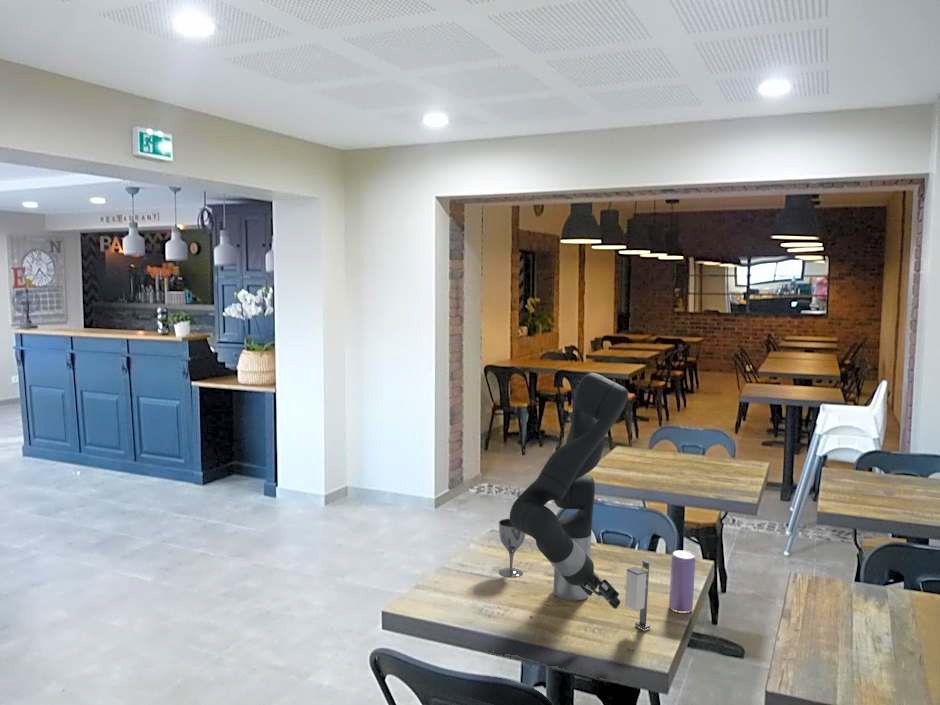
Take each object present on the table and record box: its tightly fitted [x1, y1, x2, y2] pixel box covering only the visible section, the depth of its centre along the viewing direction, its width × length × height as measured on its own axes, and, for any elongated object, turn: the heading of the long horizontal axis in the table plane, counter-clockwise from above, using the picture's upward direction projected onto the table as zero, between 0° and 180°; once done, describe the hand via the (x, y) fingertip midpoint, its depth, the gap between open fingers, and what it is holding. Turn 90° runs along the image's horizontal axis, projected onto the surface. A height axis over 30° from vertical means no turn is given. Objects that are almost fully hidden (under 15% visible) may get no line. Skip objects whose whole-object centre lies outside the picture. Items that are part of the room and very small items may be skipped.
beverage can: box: [668, 550, 696, 611], centre depth 198 cm, size 6×6×15 cm
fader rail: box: [634, 560, 651, 630], centre depth 186 cm, size 2×3×17 cm, turn 34°
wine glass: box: [498, 517, 527, 579], centre depth 219 cm, size 8×8×15 cm
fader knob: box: [624, 566, 647, 612], centre depth 184 cm, size 3×4×9 cm
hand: (604, 598), depth 178 cm, fingers open, 8 cm apart
